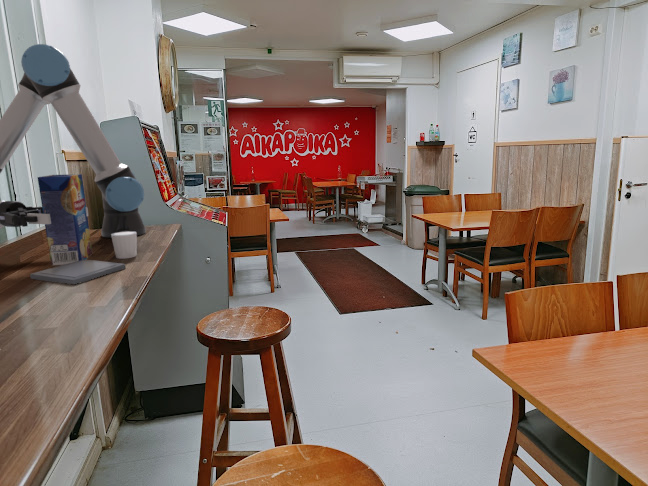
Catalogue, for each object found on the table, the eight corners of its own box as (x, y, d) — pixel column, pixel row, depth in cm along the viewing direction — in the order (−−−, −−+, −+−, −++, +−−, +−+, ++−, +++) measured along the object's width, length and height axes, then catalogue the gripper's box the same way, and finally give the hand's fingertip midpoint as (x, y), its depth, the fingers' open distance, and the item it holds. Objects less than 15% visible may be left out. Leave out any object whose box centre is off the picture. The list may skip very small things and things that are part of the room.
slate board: (84, 263, 118) (83, 259, 117) (125, 268, 112) (125, 263, 112) (30, 278, 104) (30, 273, 104) (74, 284, 99) (73, 279, 98)
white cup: (121, 260, 121) (118, 236, 119) (109, 256, 125) (106, 233, 123) (143, 255, 126) (141, 232, 125) (131, 252, 130) (129, 230, 129)
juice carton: (81, 263, 118) (69, 176, 113) (51, 265, 116) (37, 177, 111) (92, 253, 129) (81, 174, 124) (65, 255, 127) (53, 174, 122)
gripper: (44, 219, 136) (102, 221, 132) (-34, 234, 112) (33, 237, 108) (40, 196, 135) (99, 197, 130) (-40, 206, 111) (28, 207, 107)
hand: (69, 215), depth 119 cm, fingers open, 13 cm apart
